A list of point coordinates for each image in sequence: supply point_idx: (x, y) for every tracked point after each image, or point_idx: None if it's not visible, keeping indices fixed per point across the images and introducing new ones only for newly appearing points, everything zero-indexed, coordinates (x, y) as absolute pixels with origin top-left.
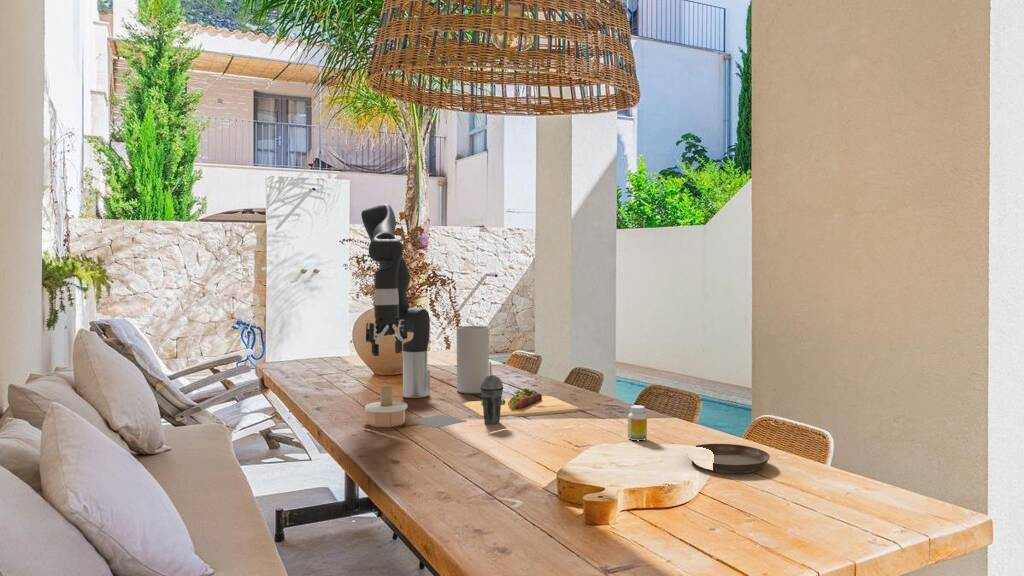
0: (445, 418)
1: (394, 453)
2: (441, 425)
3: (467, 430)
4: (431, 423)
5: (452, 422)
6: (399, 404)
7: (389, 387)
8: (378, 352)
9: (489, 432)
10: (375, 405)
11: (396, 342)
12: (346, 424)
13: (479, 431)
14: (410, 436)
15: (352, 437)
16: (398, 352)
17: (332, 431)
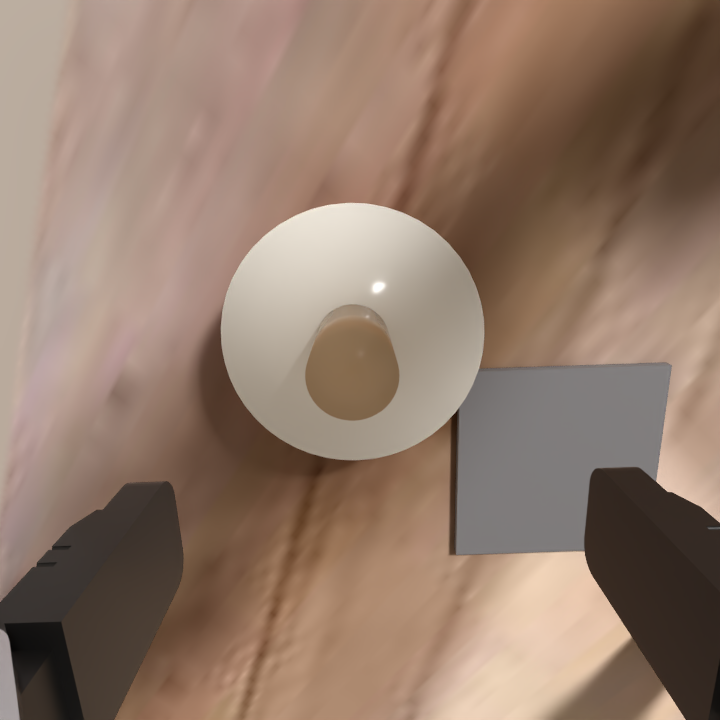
0: (616, 449)
1: (122, 705)
2: (500, 541)
3: (536, 635)
4: (496, 484)
5: (576, 530)
6: (427, 373)
7: (351, 420)
8: (156, 615)
9: (569, 704)
10: (298, 296)
11: (700, 633)
12: (188, 167)
13: (555, 672)
14: (302, 567)
15: (94, 426)
16: (589, 547)
17: (61, 260)
